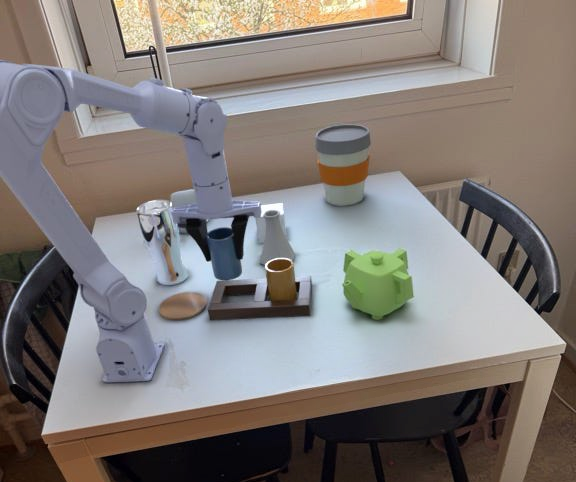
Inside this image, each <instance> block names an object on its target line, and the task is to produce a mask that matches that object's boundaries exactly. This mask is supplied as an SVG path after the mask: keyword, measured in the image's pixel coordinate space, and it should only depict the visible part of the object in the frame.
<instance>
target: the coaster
mask: <svg viewBox="0 0 576 482" xmlns="http://www.w3.org/2000/svg"><path fill="white" fill-rule="evenodd" d="M207 305H208V300H207V299H206V296H205V295H203V294H202V293H199V292H193V291H185V292H180V293H176V294H173V295H171V296H169V297H167V298H165V299H164V300H163V301H161V303H160V304H159V306H158V314H159V315H160V316H161V317H162V318H163V319H165V320H169V321H183V320H189V319H191V318H193V317H196V316H198V315H199V314H201V313H202V312H203V311H204V310H205V309H206V308H207Z"/></svg>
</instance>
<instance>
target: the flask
mask: <svg viewBox="0 0 576 482" xmlns="http://www.w3.org/2000/svg"><path fill="white" fill-rule="evenodd" d="M279 215H280V211H277V210H268V211H266V212H264V214H263V217H264V218H265V221H266V234H265V239H264V243H262V244H263V245H262V250H261V254H260V258H259V264H261V265H263V266H265V264H266V263H267V262H268V261H270V260H272V259H276V258H288V259H290V260H292V261H294V260H295V257H296V252H295V251H294V250H293V247H292V246H291V244H290V242H289V240H288V238H287V235H286V236H285V234H284V232H283V230H282V227H281V224H280V221H279Z"/></svg>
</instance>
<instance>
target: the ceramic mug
mask: <svg viewBox="0 0 576 482" xmlns="http://www.w3.org/2000/svg"><path fill="white" fill-rule="evenodd" d="M168 201H170V202H171V205H172V208H174V207H182V206H187V205H192V204H197V202H196V197H195V192H194V188H191V189H185V190H179V191H175V192H173V193H171V194H170V195H169V196H168ZM209 221H210V219H206V223H207V222H209ZM177 224H178V225H186V221H181V222H180V223H177ZM178 228H179V233H181V234H185V235H186V234H188V233H187V231H186V228H182V227H180V226H178ZM188 235H189V234H188Z"/></svg>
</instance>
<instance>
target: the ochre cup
mask: <svg viewBox="0 0 576 482" xmlns="http://www.w3.org/2000/svg"><path fill="white" fill-rule="evenodd" d="M293 261H294V260H293ZM293 261H292V260H290V259H288V258H276V259H272V260H270V261H268V262H267V263H266V264H265V265H264V271H265V278H266V279H267V286H268V293H269V297H268V301H279V300H298V292H297V290H296V280H295V277H296V273H295V262H293Z"/></svg>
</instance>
